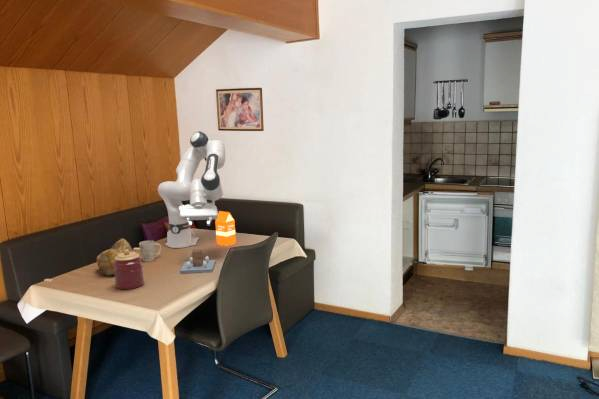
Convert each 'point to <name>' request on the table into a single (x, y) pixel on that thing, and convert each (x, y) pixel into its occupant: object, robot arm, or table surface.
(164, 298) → the table surface
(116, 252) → the rough brown rock
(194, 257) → the walnut block
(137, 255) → the canister
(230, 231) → the orange juice
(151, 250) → the mug
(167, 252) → the table surface
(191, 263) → the peg seat
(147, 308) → the table surface
